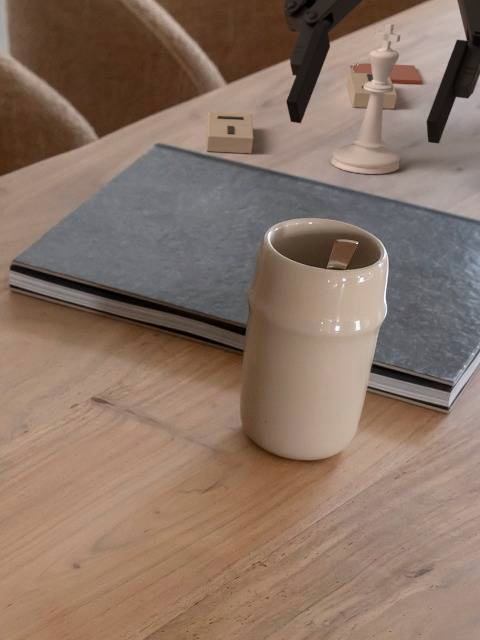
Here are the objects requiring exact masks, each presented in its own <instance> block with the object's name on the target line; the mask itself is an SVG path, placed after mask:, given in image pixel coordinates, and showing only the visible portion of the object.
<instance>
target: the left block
mask: <svg viewBox="0 0 480 640" xmlns="http://www.w3.org/2000/svg"><path fill="white" fill-rule="evenodd" d="M253 145H254V128H253V115H252V114H251V113H239V112H237V113H236V112H218V111H217V112H215V111H209V112H208V113H207V123H206V152H215V153H231V154H232V153H233V154H252V153H253Z"/></svg>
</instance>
